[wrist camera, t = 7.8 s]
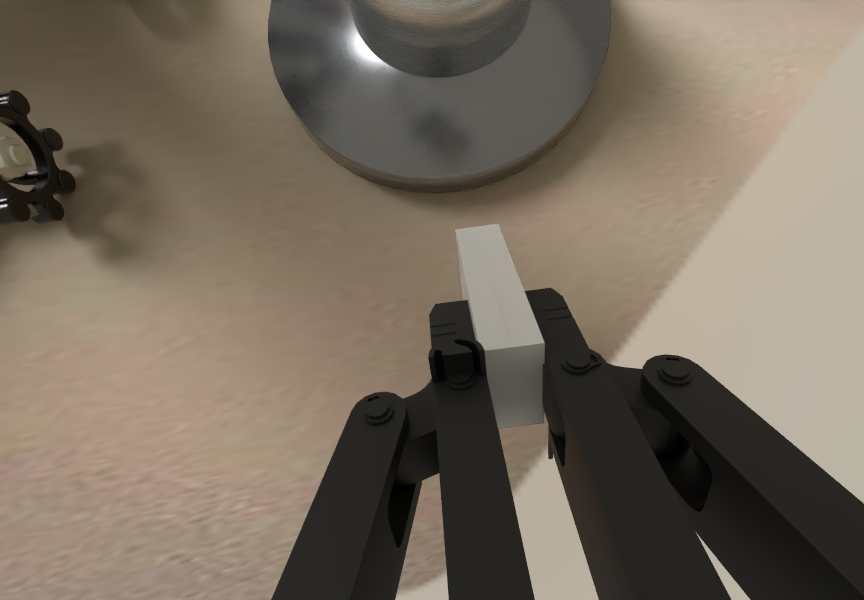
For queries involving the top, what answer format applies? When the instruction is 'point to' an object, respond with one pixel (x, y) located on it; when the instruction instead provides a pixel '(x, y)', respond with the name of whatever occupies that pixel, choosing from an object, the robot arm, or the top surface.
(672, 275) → the top surface
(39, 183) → the valve
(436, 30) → the cover
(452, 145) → the grey metal flat disc
